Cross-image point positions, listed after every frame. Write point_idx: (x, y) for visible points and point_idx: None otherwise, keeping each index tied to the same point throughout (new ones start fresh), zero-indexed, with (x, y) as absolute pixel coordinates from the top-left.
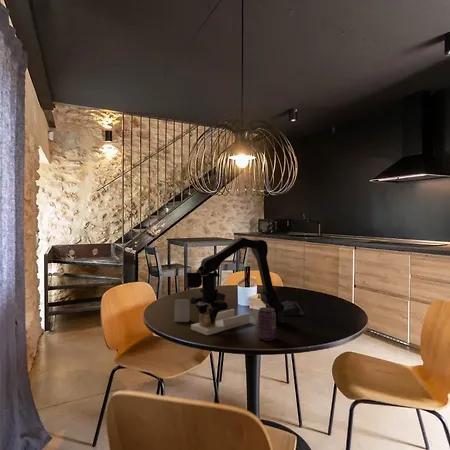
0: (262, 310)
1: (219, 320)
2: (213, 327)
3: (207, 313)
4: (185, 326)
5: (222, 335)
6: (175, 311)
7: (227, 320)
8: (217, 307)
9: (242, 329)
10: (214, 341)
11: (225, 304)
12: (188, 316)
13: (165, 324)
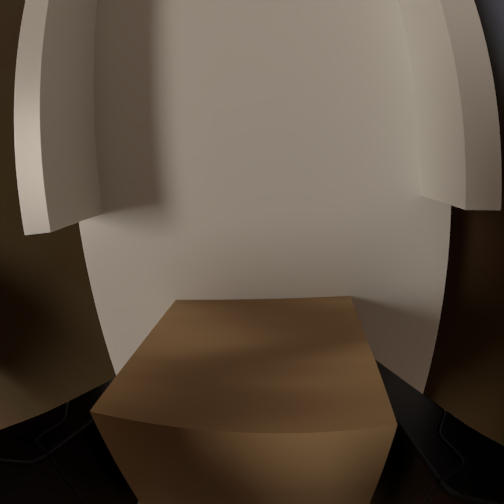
0: None
1: (175, 76)
2: (394, 366)
3: (219, 495)
4: (73, 392)
5: (498, 320)
6: None
7: (485, 133)
8: None
9: (499, 33)
10: (501, 423)
11: None
12: None
13: (13, 420)
